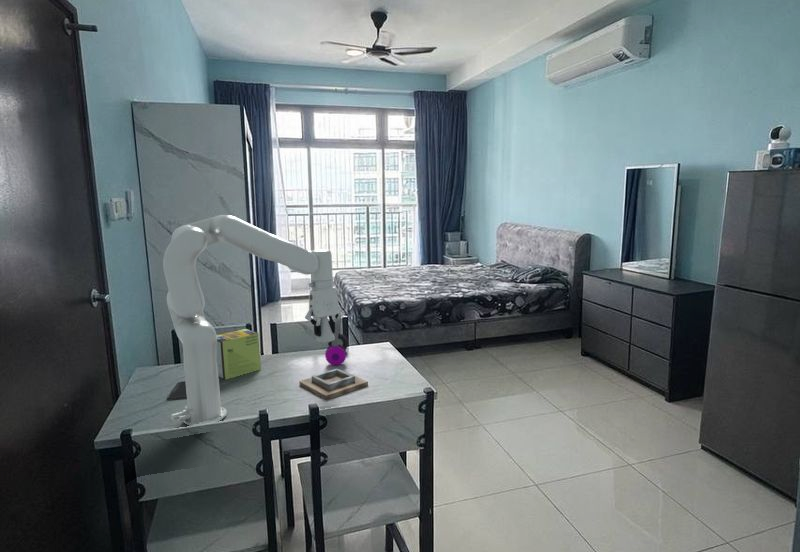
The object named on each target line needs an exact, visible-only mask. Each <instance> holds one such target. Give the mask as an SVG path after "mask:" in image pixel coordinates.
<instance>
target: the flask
mask: <svg viewBox="0 0 800 552" xmlns="http://www.w3.org/2000/svg"><path fill="white" fill-rule="evenodd" d="M328 321H329V317H328V316H327V317H323V318H320V323H319V325H320V326H321V336H320V337H319V336H316V335H315V342H317V343H328V342H331V341H333V340H335V337H334V334H333V333H332V330H331V327H330V325H329V322H328Z"/></svg>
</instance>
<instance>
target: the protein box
mask: <svg viewBox="0 0 800 552" xmlns="http://www.w3.org/2000/svg"><path fill="white" fill-rule="evenodd" d="M216 335H217V365H218V377H219V378H220V379H222V378H223V379H222V380H225V381H227V380H230V378H231V379H234V378H236V377H237V376H238V377H241V376H244V375H243V374H245V375H247V373H248V374H251V373H254V372H253V371H255V372H258V371H261V370H262V367H261V366H262V365H261V354H260V353H261V352H260V337H259V332H257V331H253V330H250V329H248V328H243V329H239V330H235V331H230V332H225V333H222V334H216ZM260 369H261V370H260ZM257 370H258V371H257ZM250 372H251V373H250ZM240 375H241V376H240Z"/></svg>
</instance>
